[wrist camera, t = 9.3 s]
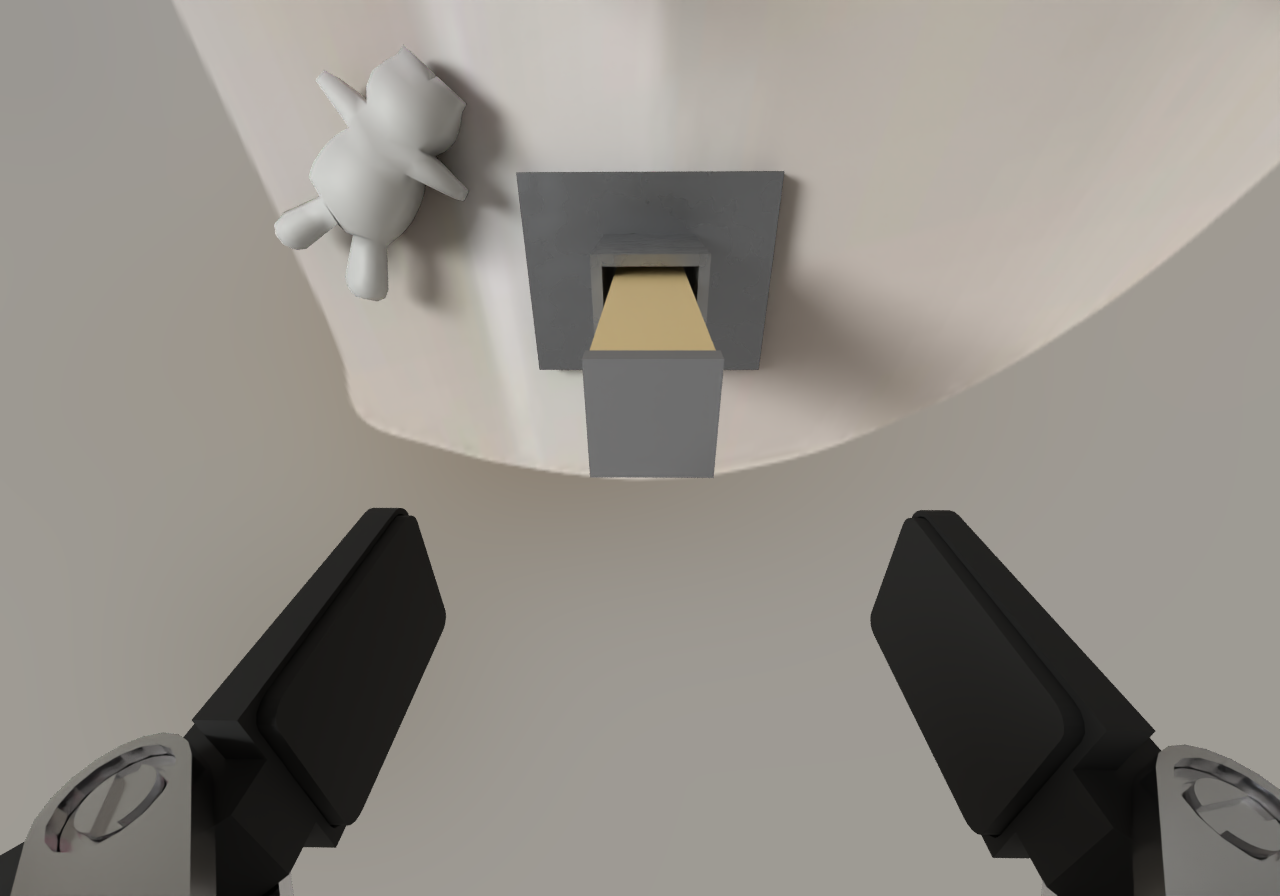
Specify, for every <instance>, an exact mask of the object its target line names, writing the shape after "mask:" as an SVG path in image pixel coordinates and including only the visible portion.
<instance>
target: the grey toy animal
mask: <svg viewBox="0 0 1280 896" xmlns="http://www.w3.org/2000/svg"><path fill="white" fill-rule="evenodd" d="M316 82H317V83H318V85H319V86H320V87H321V89H322V90H323V92H324V93H325V94H326V96H327V97H328V99H329V100H330V102H331V103H332V104H333V106H334V107H335V109H336V110H337V111H338V113H339V114H340V116H341V117H342V119H343V120H344V122H345V123H346V124H347V126H348V128H346V129H345V130H343V131H342V132H340V133H338V134H337V135H335V136H334V137H332V139H331V140H330V141H329V142H328V143H327V144H326V145H325V146H324V147H323V149H322V150H321V151H320V153H319V155H318V156H317V158H316V159H315V161H314V162H313V165H312V168H311V171H310V174H309V179H310V180H311V182H312V184H313V185H314V187H315V189H316V191H317V192H318V194H319V197H317V198H315V199H312V200H310V201H308V202H306V203H303V204H301V205H299V206H297V207H294V208H292V209H290V210H288V211H285V212H284V213H283V214H282V215H281V217H280V218H279V219H278V220H277V222H276V223H275V224H274V226H275V234H276V236H277V237H278V238H279V240H280V241H281V242H282V243H283V244H284V245H286V246H288V247H289V248H292V249H296V250H300V249H306V248H308V247H309V246H310V245H312V244H313V243H314V242H315V241H317V240H318V239H319V238H320V237H322V236H323V235H324V234H325V233H327V232H328V231H329V230H330V229H332V228H333V227H334V226H335V225H337V224H338V225H339V226H340V227H341V228H342V229H343V230H344V231H345V232H346V233H349V234H351V235H353V238H352V243H351V249H350V254H349V259H348V265H347V270H346V276H345V277H346V283H347V286H348V288H349V289H350V291H351V292H352V293H353V294H354V295H355V296H356V297H360V298H363V299H368V300H373V301H379V300H382V299H384V298H385V297H386V295H387V292H388V265H387V246H388V245H389V244H390V243H391V242H392V241H394V240H395V239H396V238H397V237H398V236H400V235H401V234H402V233H403V232H404V231H405V230H406V229H407V227H408V226H409V225H410V223H411V222H412V221H413V219H414V217H415V215H416V213H417V211H418V209H419V207H420V204H421V201H422V199H423V196H424V189H425V185H427V186H429V187H431V188H433V189H435V190H437V191H439V192H441V193H443V194H445V195H448V196H450V197H452V198H454V199H457V200H461V201H464V200H465V198H466V195H467V193H468V191H469V190H468V189H467V188H466V187H465V186H464V185H463V184H462V183H461V182H460V181H459V180H458V179H457V178H456V177H455V176H454V175H453V174H452V173H451V172H450V171H449V169H448V168H447V167H446V166H445V165H444V164H443V163H441V162H440V161H439V160H438V159H437V158H436V157H435V156H437V155H439V154H441V153H443V152H445V151H446V150H448V149H449V147H450V146H451V145H452V144H453V143H454V142H455V141H456V138H457V136H458V133H459V129H460V124H461V116H462V112H463V110H464V108H465V106H466V103H465V102H464V101H463V100H462V99H461V98H460V97H459V96H458V95H457V94H456V93H454V92H453V91H452V90H451V89H450V88H449V87H448V86H447V85H446V84H445V83H444V82H443V81H442V80H440V79H439V78H438V77H436V75H435V74H434V73H433V72H432V71H431V70H430V69H429V68H428V67H427V66H426V65H425V64H424V63H422V62H421V61H420V60H419V59H418V58H417V57H416V56H415V55H414V54H413V53H412V52H411V51H410V50H408V49H407V48H406V47H405V46H404V45H403V46H402V48H401V49H400V51H399V52H398V54H396V55H395V56H393V57H391V58H389V59H387V60H385V61H383V62H382V63H381V64H380V65H379V66H377V67H376V68H375V69H374V70H373V71H372V72H371V75H370V78H369V81H368V83H367V86H366V89H367V99H366V98H365V97H364V96H362V95H361V94H360V93H358V92H357V91H356V90H354V89H353V88H352V87H350V86H349V85H348V84H346V83H345V82H344V81H342V80H341V79H340V78H338V77H336V76H334V75H332V74H331V73H329V72H327V71H325V70H323V72H322V73H321V74H320V75H319V77H318V78H317V79H316Z"/></svg>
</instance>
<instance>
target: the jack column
mask: <svg viewBox="0 0 1280 896" xmlns="http://www.w3.org/2000/svg"><path fill="white" fill-rule="evenodd" d="M582 367H583V381H584V396H585V410H586V424H587V439H588V453H589V467H590V477H666V478H713V477H714V467H715V455H716V444H717V433H718V422H719V411H720V400H721V389H722V378H723V367H724V357H723V355H722V353H721V350H715V347H714V345H713V342H712V340H711V337H710V334H709V332H708V329H707V327H706V324H705V322H704V319H703V317H702V314H701V312H700V309H699V307H698V304H697V301H696V299H695V296H694V294H693V291H692V289H691V286H690V284H689V281H688V279H687V276H686V274H685V271H684V269H683V267H617V268H616V271H615V274H614V277H613V280H612V283H611V286H610V289H609V293H608V296H607V299H606V302H605V305H604V308H603V311H602V314H601V317H600V320H599V323H598V326H597V329H596V332H595V335H594V338H593V341H592V344H591V347H590V350H585V352H584V355H583V358H582Z"/></svg>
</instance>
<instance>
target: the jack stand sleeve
mask: <svg viewBox="0 0 1280 896" xmlns="http://www.w3.org/2000/svg"><path fill="white" fill-rule="evenodd" d="M516 175H517V183H518V192H519V200H520V209H521V217H522V226H523V234H524V242H525V251H526V259H527V268H528V276H529V285H530V293H531V301H532V310H533V318H534V327H535V335H536V343H537V352H538V360H539V369H540V370H583V367H582V358H583V355H584V352H585V350H590V347H591V344H592V341H593V338H594V335H595V332H596V329H597V326H598V323H599V320H600V317H601V314H602V311H603V308H604V305H605V302H606V299H607V296H608V293H609V289H610V286H611V283H612V280H613V277H614V274H615V271H616V268H617V267H683V269H684V271H685V274H686V276H687V279H688V281H689V284H690V286H691V289H692V291H693V294H694V296H695V299H696V301H697V304H698V307H699V309H700V312H701V314H702V317H703V319H704V322H705V324H706V327H707V329H708V332H709V334H710V337H711V340H712V342H713V345H714V347H715V350H721V353H722V355H723V357H724V367H723V370H758V369H759V362H760V354H761V346H762V339H763V331H764V323H765V316H766V308H767V301H768V293H769V285H770V278H771V270H772V262H773V255H774V247H775V239H776V232H777V224H778V216H779V209H780V201H781V193H782V186H783V178H784V171H731V172H526V173H516Z"/></svg>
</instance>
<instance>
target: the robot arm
mask: <svg viewBox="0 0 1280 896" xmlns="http://www.w3.org/2000/svg"><path fill="white" fill-rule="evenodd" d="M445 620H446V613H445V608H444V605H443V602H442V599H441V596H440V592H439V589H438V586H437V582H436V579H435V576H434V573H433V570H432V567H431V564H430V560H429V557H428V554H427V551H426V548H425V545H424V541H423V538H422V535H421V532H420V529H419V525H418V522H417V520H416V518H415V517H414V516H409V515H408V513H407V511H406V510H405V509H402V508H372V509H369V510H368V511H367V512H365V513H364V515H363V516H362V517H361V518H360V520H359V521H358V522H357V523H356V524H355V525H354V527H353V528H352V529H351V530H350V531H349V532H348V534H347V535H346V536H345V537H344V538H343V540H342V541H341V542H340V543H339V545H338V546H337V547H336V548H335V549H334V550H333V552H332V553H331V554H330V555H329V556H328V558H327V559H326V560H325V561H324V562H323V564H322V565H321V566H320V567H319V568H318V570H317V571H316V572H315V573H314V574H313V576H312V577H311V578H310V579H309V580H308V582H307V583H306V584H305V585H304V586H303V588H302V589H301V590H300V591H299V592H298V593H297V595H296V596H295V597H294V598H293V599H292V601H291V602H290V603H289V604H288V605H287V607H286V608H285V609H284V610H283V612H282V613H281V614H280V615H279V616H278V617H277V619H276V620H275V621H274V622H273V624H272V625H271V626H270V627H269V628H268V630H267V631H266V632H265V633H264V634H263V635H262V637H261V638H260V639H259V640H258V641H257V643H256V644H255V645H254V646H253V647H252V648H251V650H250V651H249V652H248V653H247V654H246V656H245V657H244V658H243V659H242V660H241V662H240V663H239V664H238V665H237V666H236V668H235V669H234V670H233V671H232V672H231V674H230V675H229V676H228V677H227V679H226V680H225V681H224V682H223V683H222V684H221V686H220V687H219V688H218V689H217V691H216V692H215V693H214V694H213V695H212V696H211V698H210V699H209V700H208V701H207V702H206V703H205V705H204V706H203V707H202V708H201V710H200V711H199V712H198V713H197V714H196V715H195V717H194V718H193V719H192V721H193V722H194V725H193V726H192V728H191V729H190V730H189V731H188V733H187V734H186V735H185V736H184V737H182V736H180V735H179V734H171V733H159V734H153V735H148V736H143V737H141V738H138V739H136V740H133V741H131V742H128V743H126V744H123V745H121V746H119V747H117V748H116V749H114V750H112V751H110V752H108V753H107V754H105V755H103V756H101V757H100V758H98V759H97V760H95V761H94V762H92V763H91V764H90V765H88V766H87V767H86V768H84V769H83V770H82V771H80V772H79V773H78V774H76V775H75V776H74V777H72V778H71V779H70V780H69V781H68V782H67V783H66V784H65V785H64V786H63V787H62V788H61V789H60V790H59V791H58V792H57V793H56V794H55V795H54V796H53V797H52V798H51V799H50V800H49V801H48V803H47V804H46V805H45V807H44V808H43V809H42V811H41V812H40V813H39V814H38V816H37V817H36V819H35V820H34V822H33V824H32V826H31V828H30V831H29V833H28V835H27V837H26V839H25V842H23V843H21V844H20V845H18V846H16V847H14V848H13V849H11V850H9V851H7V852H6V853H4V854H2V855H0V896H294V894H293V887H292V880H291V870H292V868H293V866H294V864H295V862H296V860H297V858H298V856H299V854H300V852H301V850H302V848H303V847H334V848H335V847H336V846H337V844H338V842H339V840H340V838H341V836H342V833H343V831H344V829H345V827H346V825H351V824H352V823H354V822H355V821H356V819H357V818H358V817H359V815H360V813H361V811H362V809H363V807H364V805H365V803H366V801H367V798H368V796H369V794H370V792H371V789H372V787H373V785H374V783H375V781H376V778H377V776H378V774H379V771H380V769H381V767H382V765H383V763H384V760H385V758H386V756H387V754H388V752H389V749H390V747H391V745H392V743H393V740H394V738H395V736H396V734H397V732H398V729H399V727H400V725H401V723H402V720H403V718H404V716H405V714H406V712H407V709H408V707H409V705H410V703H411V700H412V698H413V696H414V694H415V691H416V689H417V687H418V685H419V683H420V680H421V678H422V676H423V673H424V671H425V669H426V667H427V665H428V663H429V660H430V658H431V656H432V654H433V651H434V649H435V647H436V645H437V642H438V640H439V638H440V636H441V634H442V631H443V629H444V626H445ZM871 627H872V631H873V634H874V636H875V638H876V640H877V642H878V644H879V646H880V648H881V650H882V652H883V654H884V656H885V658H886V660H887V662H888V664H889V666H890V668H891V670H892V672H893V674H894V676H895V679H896V681H897V682H898V685H899V687H900V689H901V690H902V692H903V695H904V697H905V699H906V701H907V703H908V705H909V707H910V709H911V711H912V713H913V715H914V717H915V719H916V721H917V723H918V725H919V727H920V729H921V731H922V733H923V735H924V737H925V740H926V741H927V744H928V745H929V748H930V750H931V752H932V754H933V756H934V758H935V760H936V762H937V763H938V766H939V768H940V770H941V772H942V774H943V776H944V778H945V780H946V782H947V784H948V786H949V788H950V790H951V792H952V794H953V796H954V798H955V800H956V802H957V805H958V806H959V809H960V811H961V813H962V815H963V817H964V818H965V820H966V822H967V824H968V825H969V826H970V828H971V829H972V830H973V831H974V832H975V833H977V834H980V835H982V837H983V839H984V841H985V843H986V845H987V847H988V849H989V851H990V853H991V855H992V857H993V858H1031V860H1032V862H1033V864H1034V866H1035V867H1036V869H1037V871H1038V873H1039V875H1040V876H1041V878H1042V880H1043V883H1042V894H1041V896H1280V789H1278V788H1277V787H1275V786H1274V785H1273V784H1271V783H1270V782H1269V781H1267V780H1266V779H1264V778H1263V777H1262V776H1260V775H1259V774H1257V773H1255V772H1254V771H1251V770H1250V769H1248V768H1246V767H1245V766H1243V765H1241V764H1239V763H1237V762H1236V761H1234V760H1232V759H1230V758H1227V757H1225V756H1222V755H1219V754H1217V753H1215V752H1212V751H1210V750H1207V749H1203V748H1198V747H1194V746H1189V745H1176V746H1168V747H1166V748H1165V749H1164V750H1162V751H1161V750H1160V749H1159V748H1158V747H1157V746H1156V745H1155V743H1154V742H1153V741H1152V740H1151V739H1150V738H1149V737H1150V736H1151V735H1152V734H1153V733H1154V732H1155V730H1154V729H1153V728H1152V727H1151V726H1150V724H1149V723H1148V722H1147V721H1146V720H1145V719H1144V718H1143V717H1142V716H1141V715H1140V713H1139V712H1137V710H1136V709H1135V708H1134V707H1133V706H1132V705H1131V704H1130V703H1129V701H1128V700H1127V699H1126V698H1125V697H1124V696H1123V695H1122V694H1121V693H1120V692H1119V691H1118V689H1117V688H1116V687H1115V686H1114V685H1113V684H1112V683H1111V682H1110V681H1109V680H1108V679H1107V677H1106V676H1105V675H1104V674H1103V673H1102V672H1101V671H1100V670H1099V669H1098V667H1097V666H1096V665H1095V664H1094V663H1093V662H1092V661H1091V660H1090V659H1089V658H1088V657H1087V656H1086V654H1085V653H1084V652H1083V651H1082V650H1081V649H1080V648H1079V647H1078V646H1077V644H1076V643H1075V642H1074V641H1073V640H1072V639H1071V638H1070V637H1069V636H1068V635H1067V634H1066V633H1065V631H1064V630H1063V629H1062V628H1061V627H1060V626H1059V625H1058V624H1057V623H1056V622H1055V620H1054V619H1053V618H1052V617H1051V616H1050V615H1049V614H1048V613H1047V612H1046V611H1045V609H1044V608H1043V607H1042V606H1041V605H1040V604H1039V603H1038V602H1037V601H1036V600H1035V598H1034V597H1033V596H1032V595H1031V594H1030V593H1029V592H1028V591H1027V590H1026V589H1025V588H1024V586H1023V585H1022V584H1021V583H1020V582H1019V581H1018V580H1017V579H1016V578H1015V577H1014V575H1013V574H1012V573H1011V572H1010V571H1009V570H1008V569H1007V568H1006V567H1005V566H1004V565H1003V564H1002V562H1001V561H1000V560H999V559H998V558H997V557H996V556H995V555H994V554H993V553H992V551H991V550H990V549H989V548H988V547H987V546H986V545H985V544H984V543H983V541H982V540H981V539H980V538H979V537H978V536H977V535H976V534H975V533H974V532H973V531H972V529H971V528H970V527H969V526H968V525H967V524H966V523H965V522H964V521H963V520H962V518H961V517H960V516H959V515H957V514H956V513H955V512H953V511H950V510H920V511H917V512H916V513H915V514H914V515H913V517H912V518H908V519H906V520H905V522H904V524H903V526H902V529H901V532H900V534H899V537H898V540H897V543H896V546H895V548H894V551H893V554H892V557H891V559H890V562H889V565H888V568H887V571H886V574H885V576H884V579H883V582H882V585H881V587H880V590H879V593H878V596H877V599H876V601H875V604H874V607H873V610H872V613H871Z"/></svg>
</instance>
